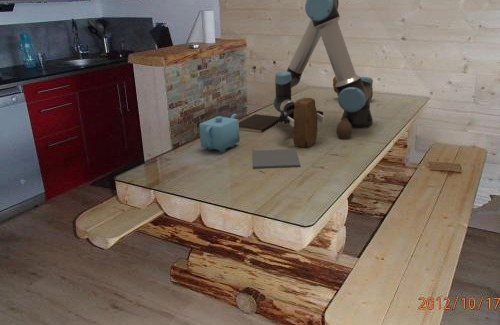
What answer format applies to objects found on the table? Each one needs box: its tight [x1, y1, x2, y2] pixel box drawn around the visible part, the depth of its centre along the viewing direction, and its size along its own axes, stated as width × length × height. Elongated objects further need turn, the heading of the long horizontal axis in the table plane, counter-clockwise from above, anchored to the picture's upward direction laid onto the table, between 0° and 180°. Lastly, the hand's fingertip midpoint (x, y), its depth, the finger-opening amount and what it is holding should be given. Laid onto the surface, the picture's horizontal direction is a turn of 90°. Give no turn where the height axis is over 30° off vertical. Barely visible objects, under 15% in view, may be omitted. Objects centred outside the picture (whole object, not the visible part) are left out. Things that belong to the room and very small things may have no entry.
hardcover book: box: [239, 113, 280, 134], centre depth 225 cm, size 16×23×2 cm
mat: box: [252, 148, 301, 170], centre depth 179 cm, size 18×18×1 cm
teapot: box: [198, 113, 240, 153], centre depth 194 cm, size 22×11×14 cm, turn 147°
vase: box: [336, 117, 353, 140], centre depth 200 cm, size 7×7×9 cm
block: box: [292, 97, 318, 148], centre depth 191 cm, size 11×8×20 cm
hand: (308, 121), depth 188 cm, fingers open, 13 cm apart
